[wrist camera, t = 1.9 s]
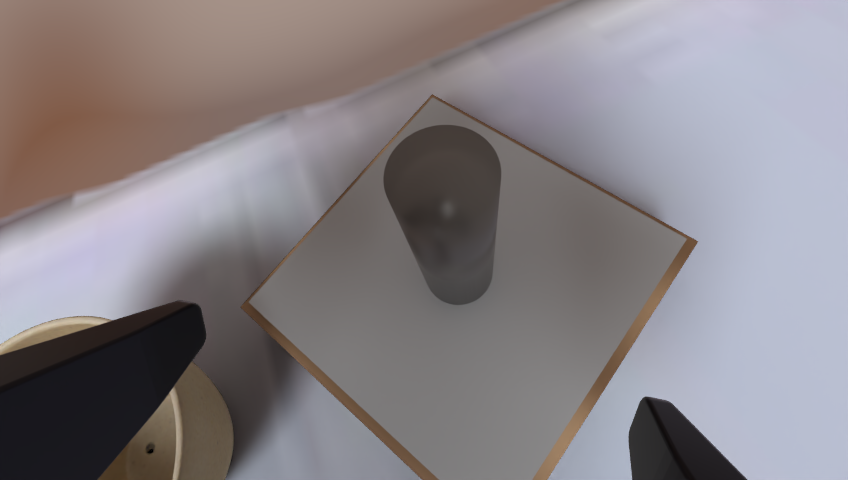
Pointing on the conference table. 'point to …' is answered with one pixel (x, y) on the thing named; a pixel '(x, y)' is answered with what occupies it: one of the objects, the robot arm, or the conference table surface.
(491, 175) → the cover
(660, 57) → the conference table surface
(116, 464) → the flower pot
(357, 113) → the conference table surface
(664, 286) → the stand
